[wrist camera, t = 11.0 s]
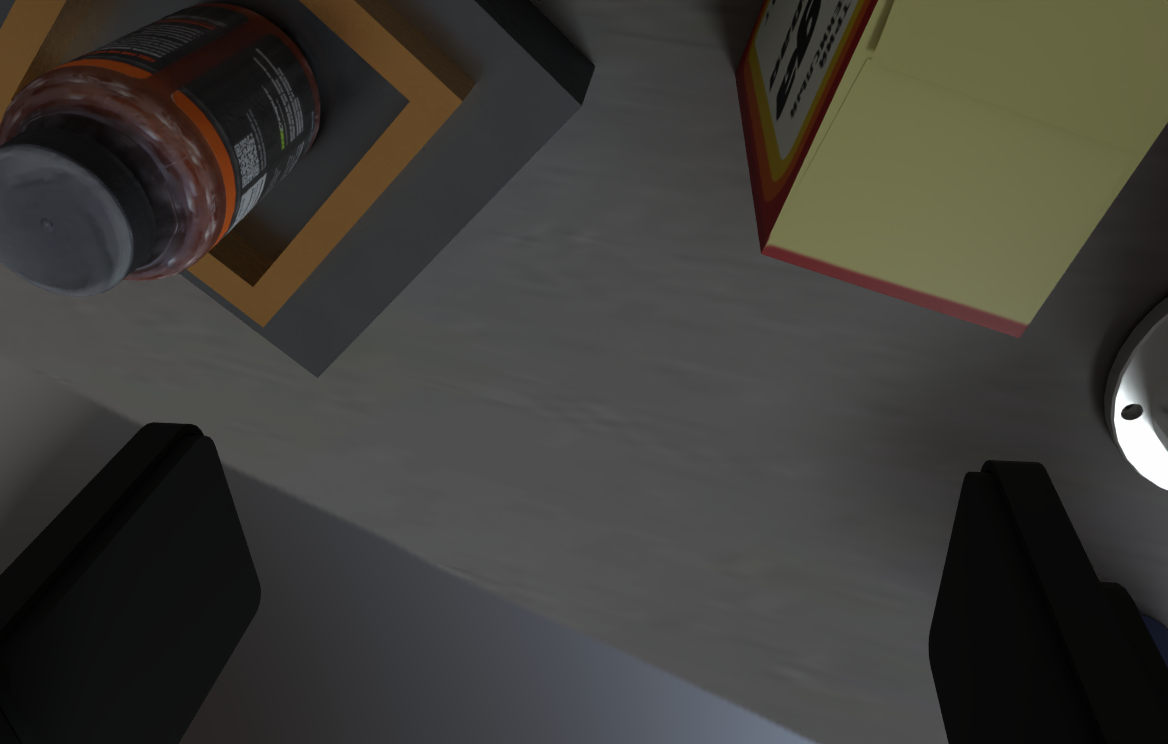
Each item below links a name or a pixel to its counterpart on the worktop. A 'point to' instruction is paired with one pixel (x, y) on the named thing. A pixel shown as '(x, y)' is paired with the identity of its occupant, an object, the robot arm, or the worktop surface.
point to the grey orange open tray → (354, 144)
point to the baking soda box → (948, 140)
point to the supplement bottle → (150, 148)
